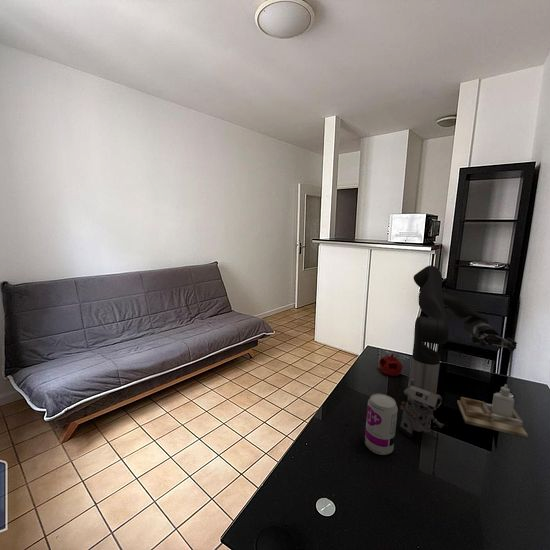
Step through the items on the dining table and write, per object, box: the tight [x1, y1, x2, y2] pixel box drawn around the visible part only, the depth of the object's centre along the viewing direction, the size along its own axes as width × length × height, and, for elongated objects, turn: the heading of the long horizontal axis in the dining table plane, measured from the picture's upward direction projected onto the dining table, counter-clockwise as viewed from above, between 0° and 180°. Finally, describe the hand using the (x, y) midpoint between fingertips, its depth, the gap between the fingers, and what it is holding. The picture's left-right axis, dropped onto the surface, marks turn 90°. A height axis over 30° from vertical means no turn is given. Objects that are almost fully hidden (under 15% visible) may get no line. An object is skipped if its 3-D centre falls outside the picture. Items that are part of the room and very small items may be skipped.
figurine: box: [398, 385, 449, 438], centre depth 91 cm, size 9×12×15 cm
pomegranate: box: [378, 353, 404, 377], centre depth 131 cm, size 10×10×9 cm
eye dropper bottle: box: [491, 383, 515, 418], centre depth 99 cm, size 4×6×12 cm
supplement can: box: [364, 393, 399, 456], centre depth 85 cm, size 8×8×15 cm
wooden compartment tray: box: [456, 396, 529, 439], centre depth 100 cm, size 17×13×3 cm
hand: (498, 346), depth 108 cm, fingers open, 8 cm apart
